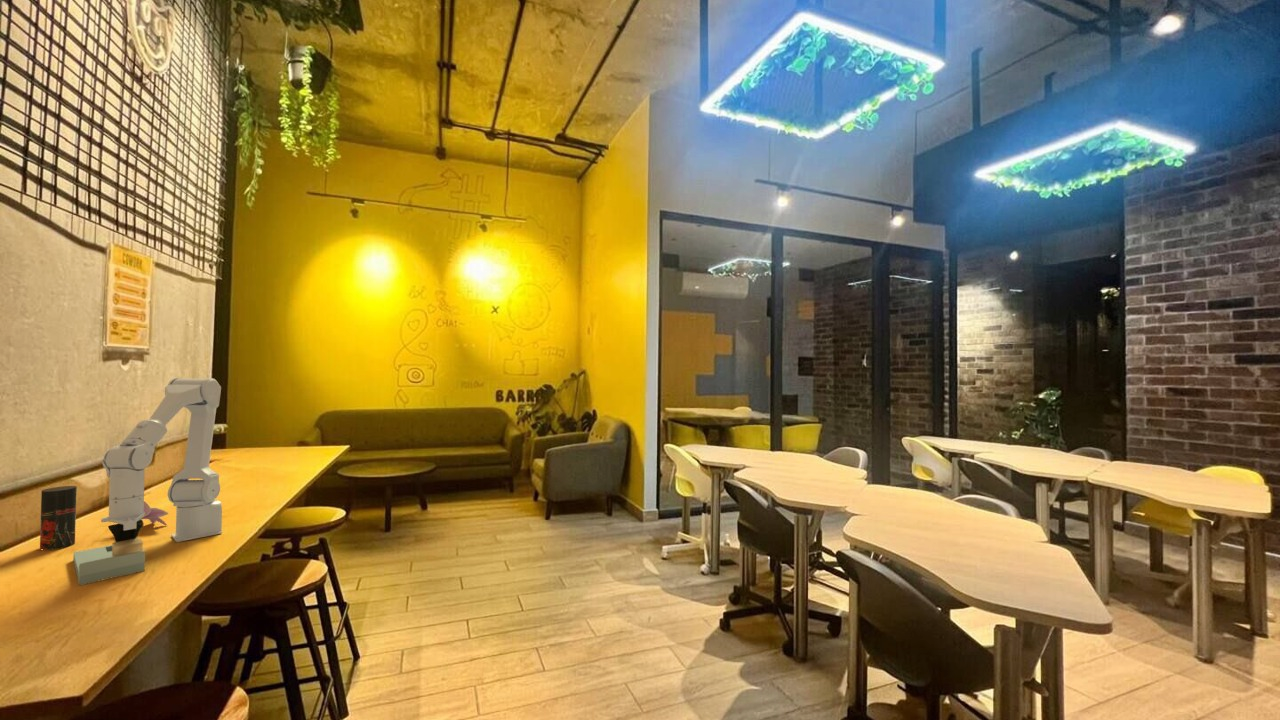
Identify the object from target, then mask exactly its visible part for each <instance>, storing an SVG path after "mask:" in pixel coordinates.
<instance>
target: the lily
mask: <svg viewBox="0 0 1280 720" xmlns="http://www.w3.org/2000/svg"><path fill="white" fill-rule="evenodd" d="M144 512H145V515H144V516H143V517H142V518H141V520H148V521H149V522H150V523H151V524H155V523H156V522H158V523H160V524H163V525H164V526H166V525H167V524H166V522H165V521H164V520H163V519H162V517H164V516H167V515H169V513H168V512H167V511H165V510H164V509H161V508H158V507H151V506H150V505H149V504H148V503H147V502H146V501H145V500H144Z"/></svg>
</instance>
